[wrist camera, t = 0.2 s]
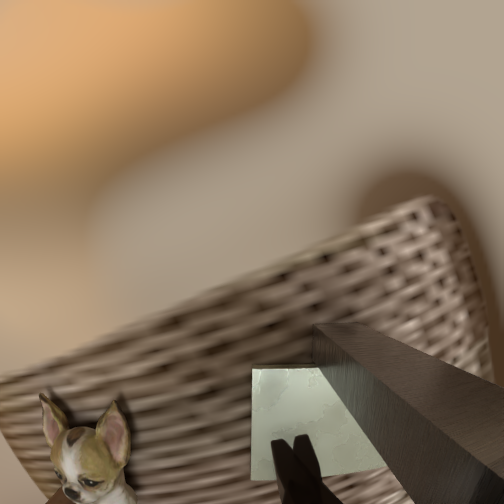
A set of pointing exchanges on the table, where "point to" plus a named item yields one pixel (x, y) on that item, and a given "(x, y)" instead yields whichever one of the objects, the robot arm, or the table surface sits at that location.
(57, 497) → the brown angular piece
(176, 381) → the table surface
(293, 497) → the robot arm
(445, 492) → the press
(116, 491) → the ceramic sculpture
